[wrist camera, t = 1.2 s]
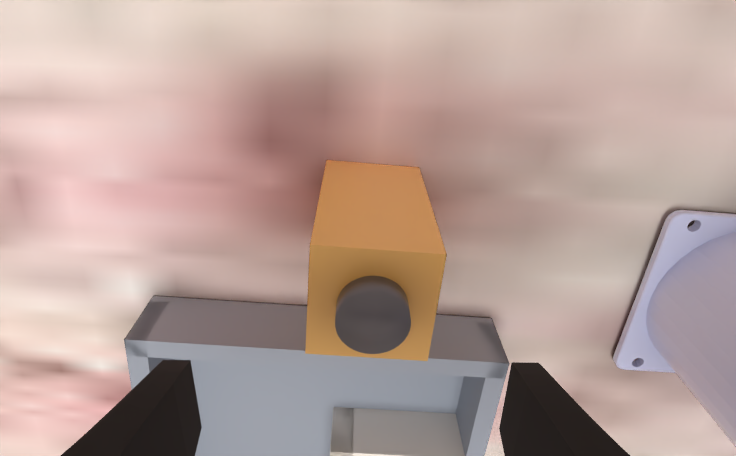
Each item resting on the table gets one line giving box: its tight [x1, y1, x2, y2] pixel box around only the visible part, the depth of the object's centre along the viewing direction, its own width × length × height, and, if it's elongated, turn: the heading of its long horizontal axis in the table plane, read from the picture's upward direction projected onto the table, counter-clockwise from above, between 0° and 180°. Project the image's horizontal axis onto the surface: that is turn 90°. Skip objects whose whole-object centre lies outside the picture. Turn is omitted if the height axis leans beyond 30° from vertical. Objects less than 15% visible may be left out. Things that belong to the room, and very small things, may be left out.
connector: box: [305, 160, 447, 361], centre depth 17 cm, size 4×4×8 cm
